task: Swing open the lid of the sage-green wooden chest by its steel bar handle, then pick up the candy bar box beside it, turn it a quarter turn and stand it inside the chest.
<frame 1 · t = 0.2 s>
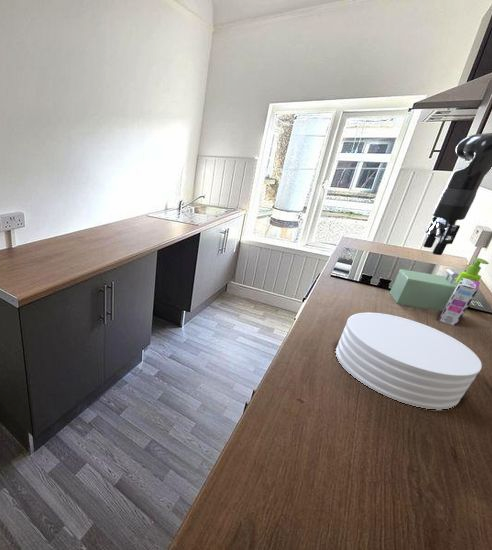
hand: (431, 250, 101), 28 cm above the worktop, tool pointing down, fingers open, 8 cm apart
candy bar box: (447, 321, 113), on the worktop
plate stack: (391, 371, 87), on the worktop
soap dispenser: (455, 302, 128), on the worktop
lid: (431, 273, 121), point 13 cm above the worktop, hinge at 0.0°
chest: (415, 302, 126), on the worktop
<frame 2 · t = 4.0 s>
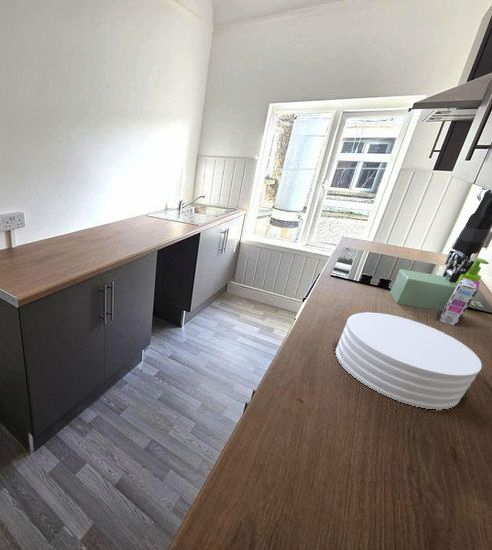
hand: (449, 279, 119), 12 cm above the worktop, tool pointing down, fingers closed on lid, 5 cm apart
lid: (431, 273, 121), point 13 cm above the worktop, hinge at 0.0°, touching gripper
everything else where it was.
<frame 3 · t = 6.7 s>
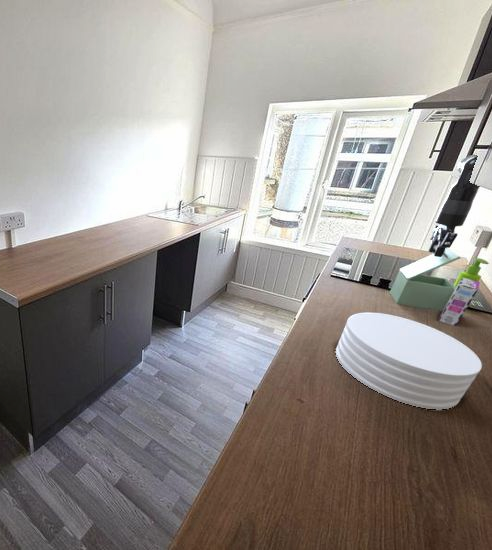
hand: (434, 254, 118), 22 cm above the worktop, tool pointing down, fingers closed on lid, 5 cm apart
lid: (424, 259, 120), point 19 cm above the worktop, hinge at 46.6°, touching gripper
everything else where it was.
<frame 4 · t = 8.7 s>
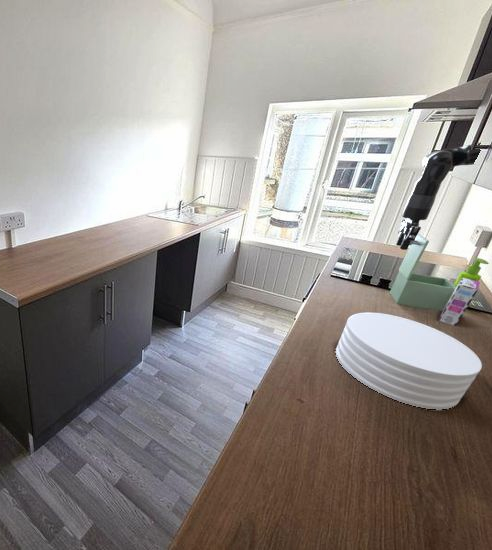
hand: (401, 247, 122), 23 cm above the worktop, tool pointing down, fingers closed on lid, 5 cm apart
lid: (406, 255, 122), point 20 cm above the worktop, hinge at 88.1°, touching gripper
everything else where it was.
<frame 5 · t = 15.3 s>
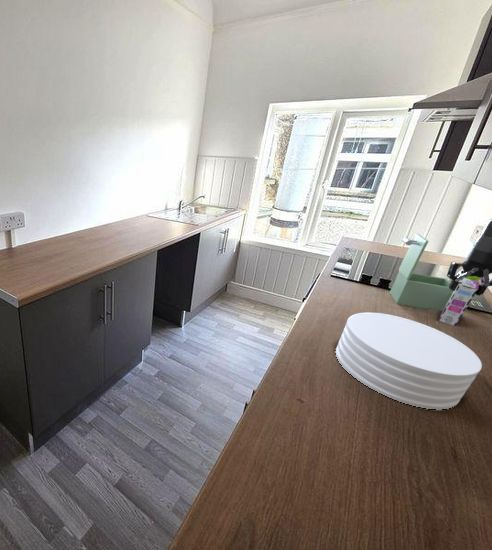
hand: (464, 292, 108), 13 cm above the worktop, tool pointing down, fingers closed on candy bar box, 6 cm apart
candy bar box: (447, 321, 113), on the worktop, touching gripper
lid: (405, 255, 122), point 20 cm above the worktop, hinge at 88.7°
everything else where it was.
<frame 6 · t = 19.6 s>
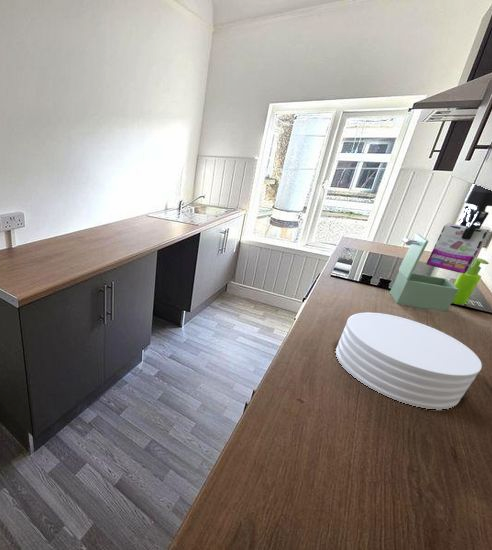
hand: (462, 236, 110), 31 cm above the worktop, tool pointing down, fingers closed on candy bar box, 6 cm apart
candy bar box: (445, 268, 115), point 18 cm above the worktop, touching gripper
everything else where it was.
when the fingers open (13 cm above the worktop, at t = 24.3 s): candy bar box stays where it is, resting on chest.
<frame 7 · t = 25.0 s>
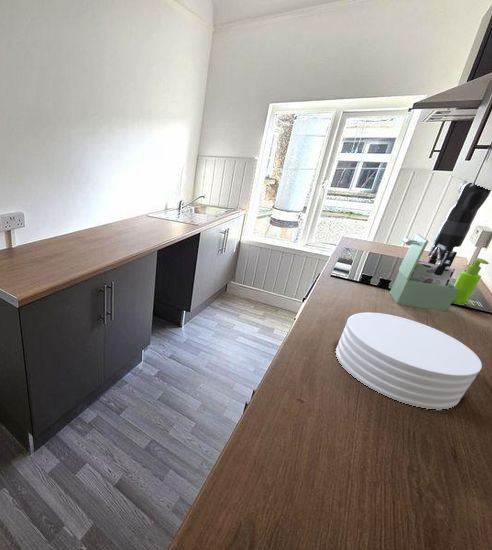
hand: (433, 271, 120), 15 cm above the worktop, tool pointing down, fingers open, 8 cm apart
candy bar box: (418, 301, 126), point 1 cm above the worktop, touching chest
everything else where it was.
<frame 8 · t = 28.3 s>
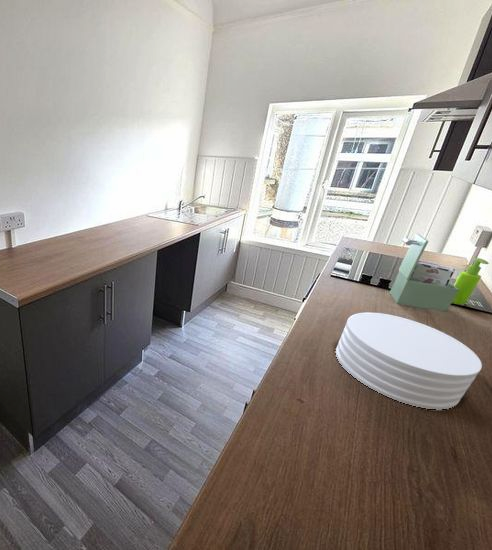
nothing on the worktop moved.
at the end: lid at +89° (first picture: +0°); candy bar box inside the target area in the chest (0.6 cm from its centre), point 0.6 cm above the chest's base; candy bar box tilted 0° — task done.
